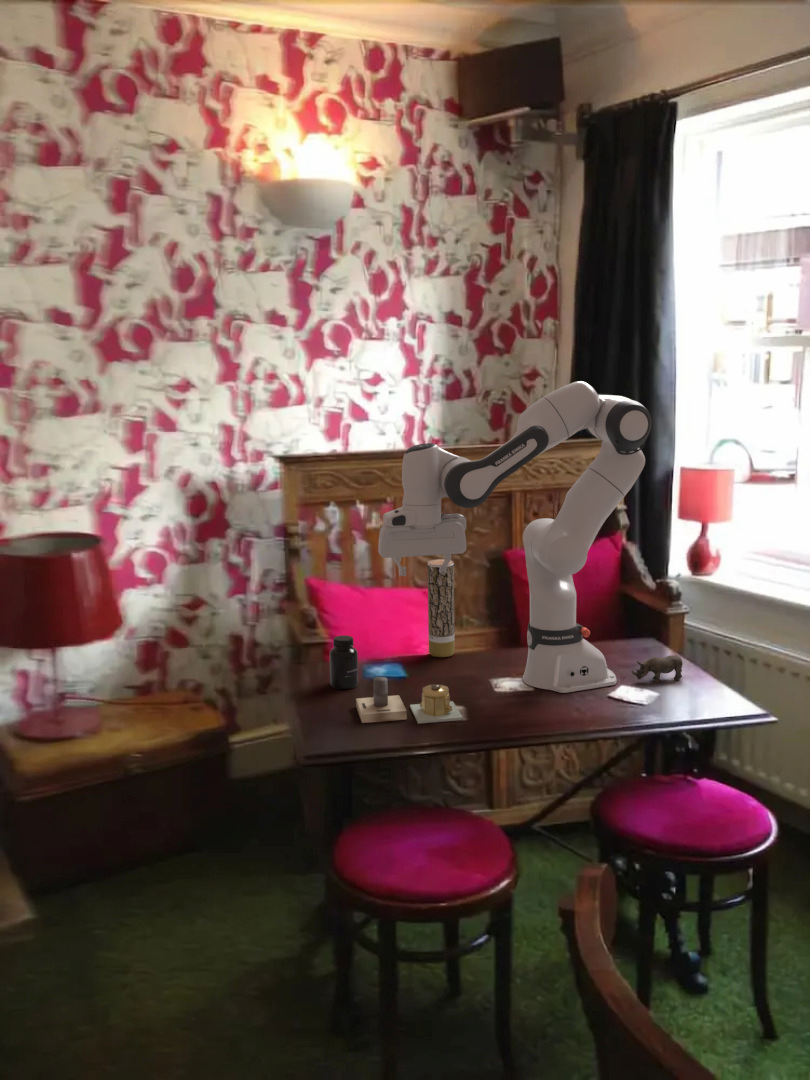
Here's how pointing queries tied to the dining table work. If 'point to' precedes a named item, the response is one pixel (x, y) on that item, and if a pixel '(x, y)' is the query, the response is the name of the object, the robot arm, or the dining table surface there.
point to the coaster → (428, 718)
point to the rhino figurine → (660, 667)
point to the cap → (436, 700)
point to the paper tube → (441, 609)
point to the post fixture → (381, 704)
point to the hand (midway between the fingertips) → (422, 574)
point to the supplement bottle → (343, 663)
